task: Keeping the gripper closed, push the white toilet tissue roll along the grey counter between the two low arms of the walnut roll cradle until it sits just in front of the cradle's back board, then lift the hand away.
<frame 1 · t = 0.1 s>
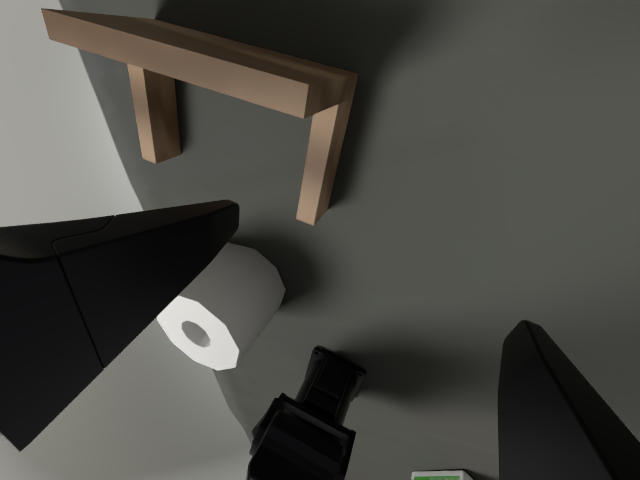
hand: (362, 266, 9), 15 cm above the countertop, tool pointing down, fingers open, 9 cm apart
roll cradle: (244, 134, 26), on the countertop
toilet tissue: (239, 271, 35), on the countertop
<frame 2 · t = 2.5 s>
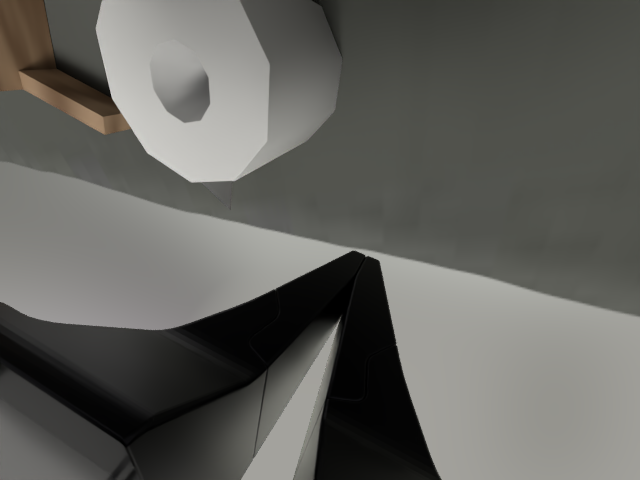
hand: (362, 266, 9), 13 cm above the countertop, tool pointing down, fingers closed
toilet tissue: (268, 91, 21), on the countertop
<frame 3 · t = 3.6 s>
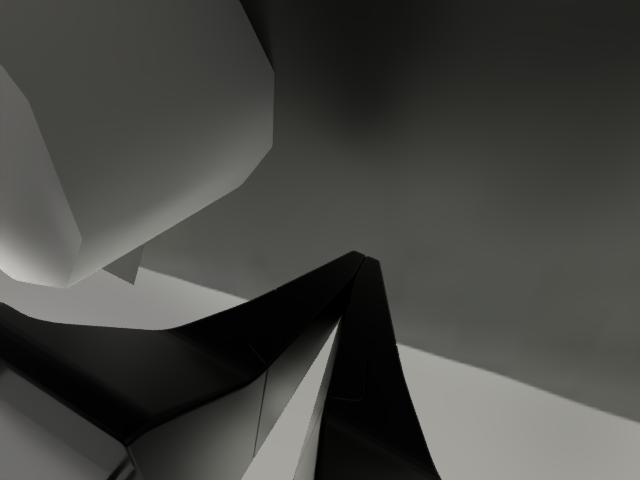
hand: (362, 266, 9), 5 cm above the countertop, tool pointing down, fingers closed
toilet tissue: (183, 117, 15), on the countertop
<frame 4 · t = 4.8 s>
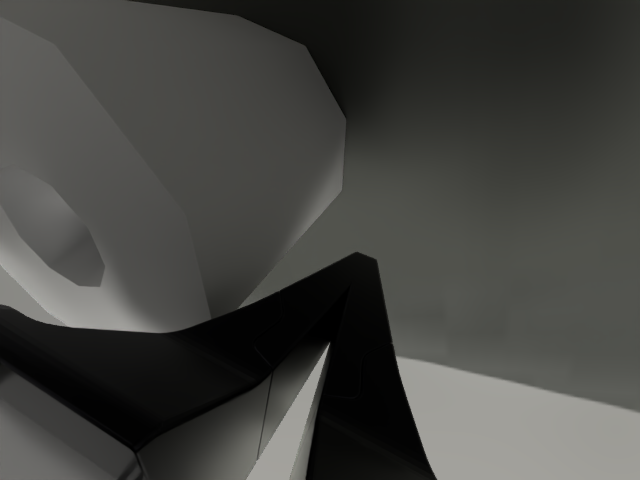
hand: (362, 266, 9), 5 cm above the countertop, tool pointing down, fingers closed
toilet tissue: (245, 166, 15), on the countertop, touching gripper
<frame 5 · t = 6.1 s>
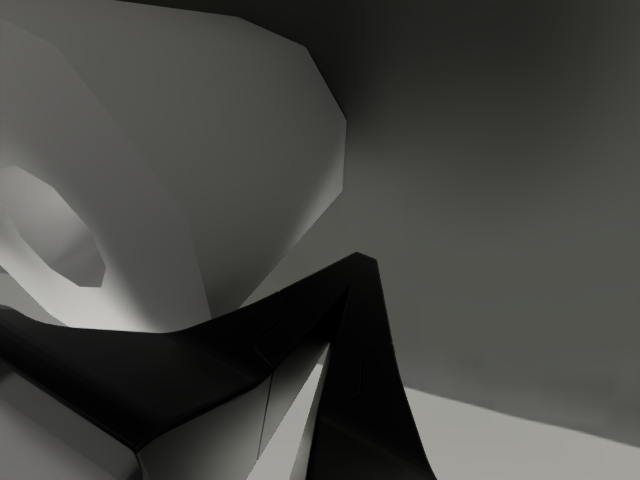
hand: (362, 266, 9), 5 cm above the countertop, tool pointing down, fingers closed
toilet tissue: (245, 167, 15), on the countertop, touching gripper
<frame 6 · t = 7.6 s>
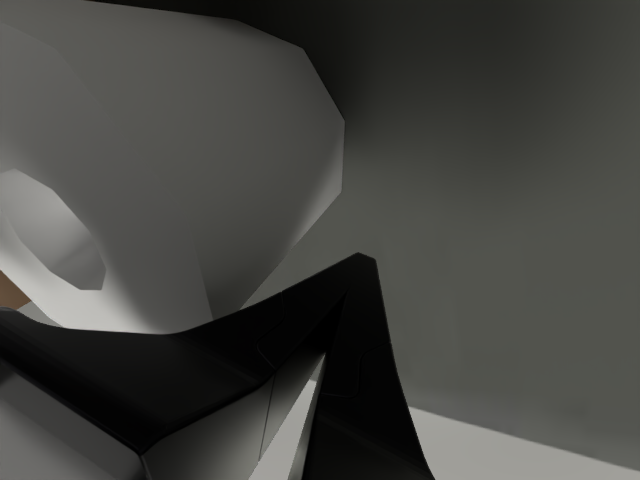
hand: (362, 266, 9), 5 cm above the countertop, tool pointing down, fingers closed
roll cradle: (195, 136, 15), on the countertop
toilet tissue: (244, 169, 15), on the countertop, touching gripper, roll cradle
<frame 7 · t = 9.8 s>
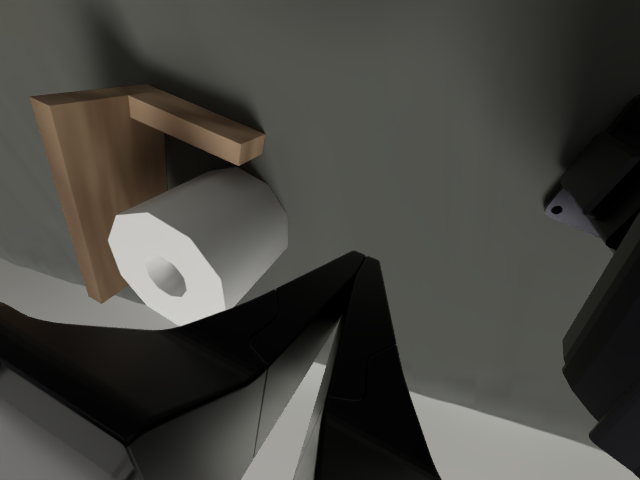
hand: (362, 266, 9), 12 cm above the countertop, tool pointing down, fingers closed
roll cradle: (212, 209, 27), on the countertop
toilet tissue: (238, 228, 28), on the countertop
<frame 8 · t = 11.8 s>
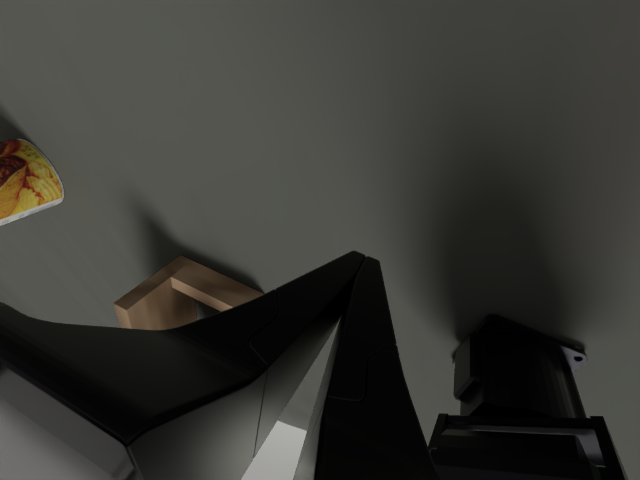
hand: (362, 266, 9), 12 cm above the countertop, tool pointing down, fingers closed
canned food: (40, 172, 36), on the countertop
roll cradle: (230, 329, 37), on the countertop
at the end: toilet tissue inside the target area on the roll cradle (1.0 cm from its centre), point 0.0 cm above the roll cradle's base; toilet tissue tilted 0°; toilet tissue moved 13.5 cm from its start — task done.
